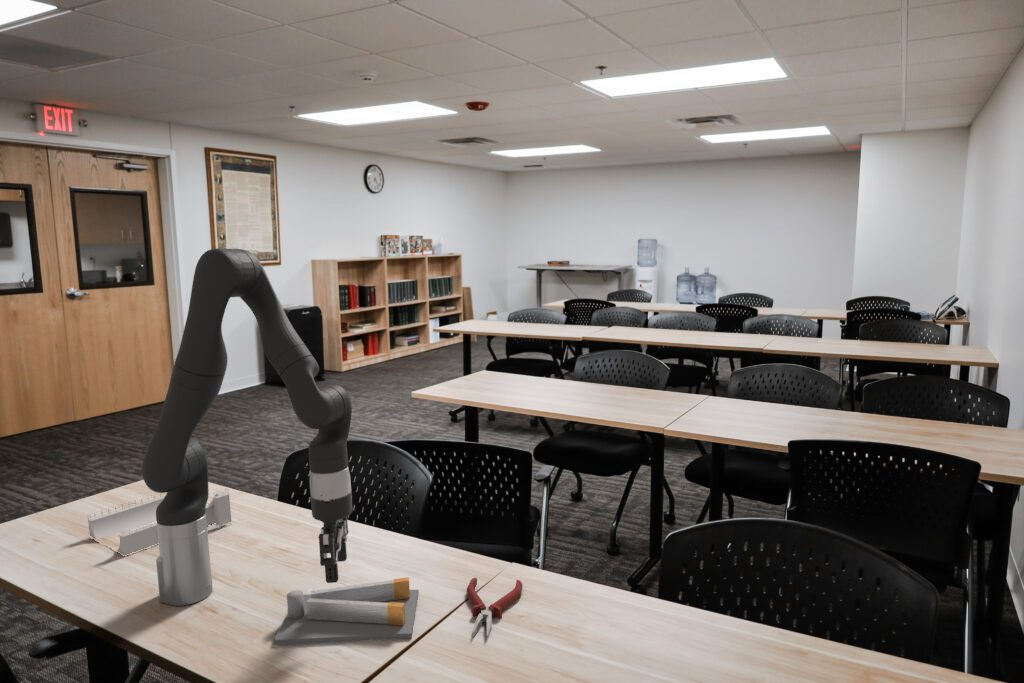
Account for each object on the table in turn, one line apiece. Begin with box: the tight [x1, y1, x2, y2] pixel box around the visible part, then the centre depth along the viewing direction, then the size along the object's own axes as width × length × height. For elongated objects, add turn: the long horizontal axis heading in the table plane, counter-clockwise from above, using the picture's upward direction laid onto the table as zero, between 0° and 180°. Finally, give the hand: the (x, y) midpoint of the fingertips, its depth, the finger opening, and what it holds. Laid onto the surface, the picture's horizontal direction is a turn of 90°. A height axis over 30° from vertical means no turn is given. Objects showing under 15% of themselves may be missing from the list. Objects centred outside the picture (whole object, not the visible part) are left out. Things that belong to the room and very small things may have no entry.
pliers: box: [466, 577, 524, 638], centre depth 133 cm, size 12×20×3 cm, turn 172°
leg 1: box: [310, 577, 410, 602], centre depth 134 cm, size 19×1×4 cm, turn 104°
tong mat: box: [273, 589, 419, 646], centre depth 131 cm, size 25×16×6 cm, turn 93°
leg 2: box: [307, 598, 406, 626], centre depth 128 cm, size 19×1×4 cm, turn 82°
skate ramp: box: [87, 489, 232, 555], centre depth 173 cm, size 25×23×10 cm
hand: (336, 571), depth 130 cm, fingers open, 8 cm apart
